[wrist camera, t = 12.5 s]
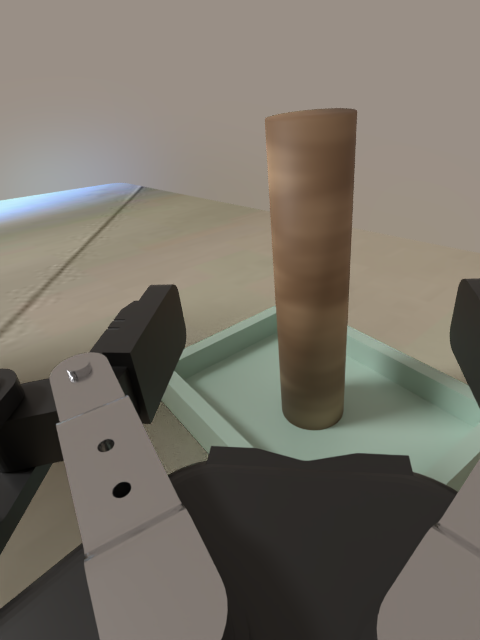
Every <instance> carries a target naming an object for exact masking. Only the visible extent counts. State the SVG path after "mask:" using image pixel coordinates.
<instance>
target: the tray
mask: <svg viewBox="0 0 480 640" xmlns="http://www.w3.org/2000/svg"><path fill="white" fill-rule="evenodd" d="M161 401H162V402H163V403H164V404H165V405H166V406H167V407H168V409H169V410H170V411H171V412H172V413H173V414H174V415H175V416H176V418H177V419H178V420H179V421H180V422H181V423H182V424H183V425H184V427H185V428H186V429H187V430H188V431H189V432H190V433H191V434H192V436H193V437H194V438H195V439H196V440H197V441H198V442H199V443H200V445H201V446H202V447H203V448H204V449H205V450H206V451H207V452H208V454H209V452H210V448H211V446H225V447H245V448H258V449H262V450H266V451H269V452H273V453H277V454H281V455H284V456H288V457H292V458H296V459H299V460H304V461H310V460H317V459H323V458H329V457H335V456H341V455H348V454H354V453H368V454H389V455H409V458H410V462H411V466H412V471H413V472H415V473H419V474H422V475H425V476H427V477H430V478H433V479H435V480H437V481H439V482H441V483H444V484H446V485H447V486H449V487H451V488H453V489H454V490H456V491H458V492H459V490H460V489H461V487H462V485H463V484H464V482H465V481H466V479H467V478H468V476H469V475H470V473H471V471H472V470H473V468H474V467H475V465H476V464H477V462H478V461H479V459H480V408H479V406H478V404H477V402H476V400H475V398H474V396H473V394H472V391H471V389H470V387H469V385H467V384H465V383H463V382H461V381H459V380H457V379H455V378H453V377H451V376H449V375H447V374H445V373H443V372H440V371H438V370H436V369H434V368H432V367H430V366H428V365H426V364H424V363H422V362H420V361H418V360H416V359H414V358H412V357H410V356H408V355H406V354H404V353H402V352H400V351H398V350H396V349H394V348H392V347H390V346H388V345H386V344H384V343H382V342H380V341H378V340H376V339H374V338H372V337H370V336H368V335H366V334H364V333H362V332H360V331H358V330H356V329H354V328H352V327H350V326H348V325H347V345H346V367H345V389H344V411H343V415H342V418H341V419H340V420H339V421H338V422H337V423H336V424H335V425H333V426H332V427H329V428H327V429H323V430H305V429H301V428H299V427H296V426H294V425H293V424H291V423H290V422H289V421H288V420H287V419H286V418H285V417H284V415H283V412H282V401H281V384H280V367H279V350H278V333H277V316H276V305H275V306H273V307H271V308H269V309H267V310H265V311H263V312H261V313H259V314H256V315H254V316H252V317H250V318H248V319H246V320H244V321H242V322H240V323H237V324H235V325H233V326H231V327H229V328H227V329H225V330H223V331H221V332H218V333H216V334H214V335H212V336H210V337H208V338H206V339H204V340H201V341H199V342H197V343H195V344H193V345H191V346H189V347H187V348H185V349H184V350H183V352H182V354H181V357H180V359H179V361H178V363H177V366H176V368H175V370H174V372H173V375H172V377H171V379H170V381H169V384H168V386H167V388H166V391H165V393H164V395H163V397H162V400H161Z"/></svg>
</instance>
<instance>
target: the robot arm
mask: <svg viewBox="0 0 480 640" xmlns="http://www.w3.org/2000/svg"><path fill="white" fill-rule="evenodd" d="M185 343H186V328H185V322H184V317H183V312H182V307H181V302H180V297H179V292H178V289H177V287H176V285H150V286H149V287H148V288H147V290H146V291H145V293H144V294H143V295H142V297H141V298H140V300H139V301H133V302H132V303H130V304H129V305H127V306H126V307H125V308H123V309H122V310H121V311H120V312H119V313H118V315H117V316H116V317H115V319H114V321H112V323H111V324H110V325H109V327H108V329H106V331H105V332H104V333H103V335H102V336H101V337H100V339H99V340H98V341H97V343H96V344H95V345H94V347H93V348H92V349H91V351H90V352H89V353H82V354H78V355H74V356H72V357H69V358H67V359H65V360H64V361H62V362H61V363H59V364H58V365H57V366H56V367H55V368H54V369H53V370H52V372H51V374H50V377H49V378H48V379H43V380H38V381H33V382H28V383H23V384H20V382H19V380H18V377H17V375H16V374H15V372H14V371H12V370H10V369H0V554H1V553H2V551H3V549H4V547H5V546H6V544H7V542H8V540H9V539H10V537H11V535H12V533H13V532H14V530H15V528H16V526H17V525H18V523H19V521H20V519H21V518H22V516H23V514H24V512H25V511H26V509H27V507H28V505H29V504H30V502H31V500H32V498H33V497H34V495H35V493H36V491H37V490H38V488H39V486H40V484H41V482H42V481H43V479H44V477H45V475H46V474H47V472H48V470H49V468H50V467H51V465H52V463H55V462H60V461H64V463H65V468H66V472H67V477H68V481H69V485H70V490H71V494H72V499H73V503H74V507H75V512H76V516H77V521H78V525H79V530H80V534H81V538H82V544H80V545H79V546H78V547H77V548H75V549H74V550H73V551H72V552H70V553H69V554H68V555H67V556H65V557H64V558H63V559H62V560H60V561H59V562H58V563H57V564H55V565H54V566H53V567H52V568H51V569H49V570H48V571H47V572H46V573H44V574H43V575H42V576H41V577H39V578H38V579H37V580H36V581H34V582H33V583H32V584H31V585H29V586H28V587H27V588H26V589H25V590H23V591H22V592H21V593H20V594H18V595H17V596H16V597H15V598H13V599H12V600H11V601H10V602H8V603H7V604H6V605H5V606H3V607H2V608H1V609H0V640H480V459H479V461H478V462H477V464H476V465H475V467H474V468H473V470H472V471H471V473H470V475H469V476H468V478H467V479H466V481H465V482H464V484H463V485H462V487H461V489H460V490H459V492H458V491H456V490H454V489H453V488H451V487H449V486H447V485H446V484H444V483H441V482H439V481H437V480H435V479H433V478H430V477H427V476H425V475H422V474H419V473H415V472H413V471H412V466H411V462H410V458H409V455H389V454H368V453H354V454H348V455H341V456H335V457H329V458H323V459H317V460H310V461H304V460H299V459H296V458H292V457H288V456H284V455H281V454H277V453H273V452H269V451H266V450H262V449H258V448H245V447H225V446H211V448H210V452H209V456H208V460H207V461H203V462H198V463H195V464H191V465H189V466H186V467H183V468H181V469H179V470H177V471H175V472H173V473H171V474H169V475H167V473H166V471H165V469H164V467H163V465H162V463H161V461H160V459H159V457H158V455H157V453H156V451H155V449H154V447H153V445H152V443H151V441H150V439H149V436H148V434H147V432H146V430H145V428H144V426H143V424H151V422H152V420H153V418H154V415H155V413H156V411H157V409H158V406H159V404H160V402H161V400H162V397H163V395H164V393H165V391H166V388H167V386H168V384H169V381H170V379H171V377H172V375H173V372H174V370H175V368H176V366H177V363H178V361H179V359H180V357H181V354H182V352H183V350H184V347H185ZM450 344H451V348H452V351H453V353H454V355H455V358H456V360H457V362H458V364H459V366H460V368H461V370H462V372H463V374H464V377H465V379H466V381H467V383H468V385H469V387H470V389H471V391H472V394H473V396H474V398H475V400H476V402H477V404H478V406H479V408H480V279H462V280H461V282H460V284H459V287H458V291H457V296H456V302H455V307H454V312H453V317H452V322H451V327H450ZM142 423H143V424H142Z"/></svg>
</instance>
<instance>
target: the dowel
mask: <svg viewBox="0 0 480 640" xmlns="http://www.w3.org/2000/svg"><path fill="white" fill-rule="evenodd" d="M356 124H357V110H354V109H344V108H334V109H333V108H332V109H314V110H304V111H295V112H288V113H282V114H278V115H273V116H270V117H267V118H266V119H265V130H266V146H267V163H268V181H269V198H270V215H271V232H272V249H273V266H274V283H275V300H276V316H277V333H278V350H279V367H280V384H281V401H282V412H283V415H284V417H285V418H286V419H287V420H288V421H289V422H290V423H291V424H293V425H294V426H296V427H299V428H301V429H305V430H323V429H327V428H329V427H332V426H333V425H335V424H336V423H337V422H338V421H339V420H340V419H341V418H342V415H343V411H344V389H345V367H346V345H347V323H348V300H349V278H350V256H351V234H352V212H353V190H354V168H355V145H356Z"/></svg>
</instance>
